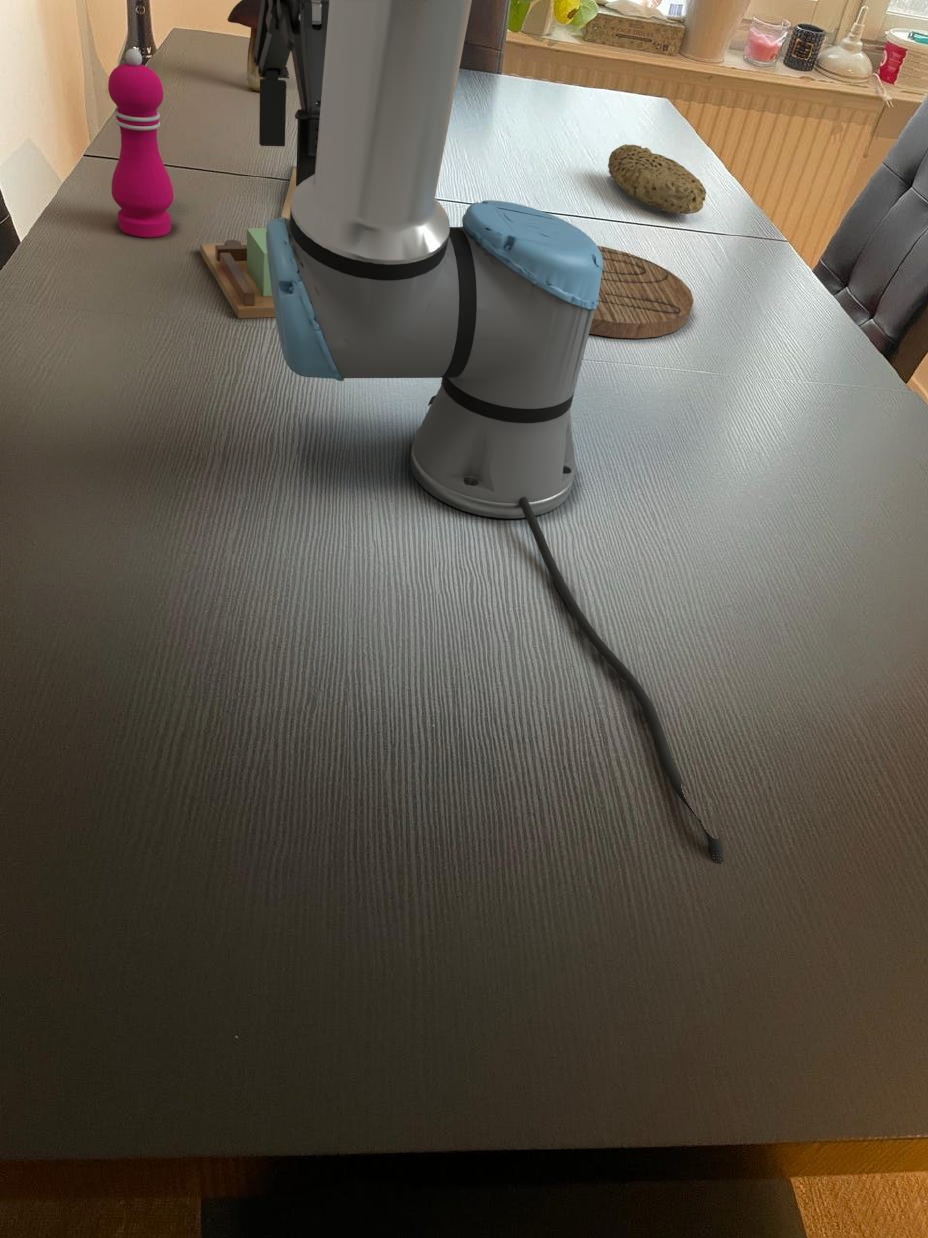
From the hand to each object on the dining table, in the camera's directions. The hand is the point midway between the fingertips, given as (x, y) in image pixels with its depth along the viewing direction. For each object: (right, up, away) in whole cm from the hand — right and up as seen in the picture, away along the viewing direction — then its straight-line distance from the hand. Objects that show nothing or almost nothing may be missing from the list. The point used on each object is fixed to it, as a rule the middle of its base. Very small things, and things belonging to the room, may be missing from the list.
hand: (290, 165), depth 105 cm
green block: (-2, -9, +9) cm, 13 cm away
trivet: (+35, +4, +33) cm, 48 cm away
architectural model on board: (+2, +10, +35) cm, 36 cm away
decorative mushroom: (-18, +46, +72) cm, 87 cm away
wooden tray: (-4, -8, +12) cm, 15 cm away
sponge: (+50, +22, +53) cm, 76 cm away
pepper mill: (-21, 0, +18) cm, 28 cm away
